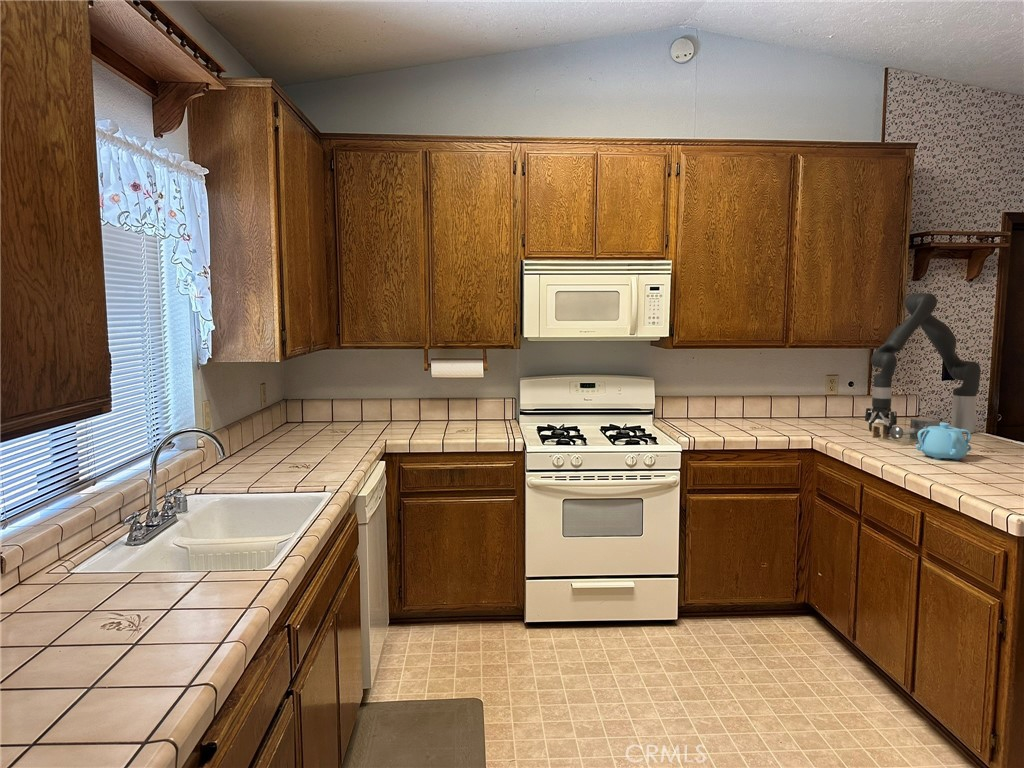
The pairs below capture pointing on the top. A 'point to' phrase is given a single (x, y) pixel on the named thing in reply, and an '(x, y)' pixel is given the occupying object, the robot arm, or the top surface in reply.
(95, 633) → the top surface
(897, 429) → the shaft
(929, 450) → the decorative pot
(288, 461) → the top surface
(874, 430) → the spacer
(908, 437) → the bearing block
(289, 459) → the top surface
